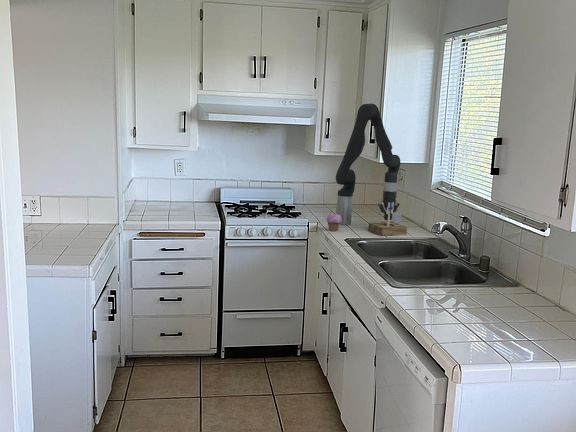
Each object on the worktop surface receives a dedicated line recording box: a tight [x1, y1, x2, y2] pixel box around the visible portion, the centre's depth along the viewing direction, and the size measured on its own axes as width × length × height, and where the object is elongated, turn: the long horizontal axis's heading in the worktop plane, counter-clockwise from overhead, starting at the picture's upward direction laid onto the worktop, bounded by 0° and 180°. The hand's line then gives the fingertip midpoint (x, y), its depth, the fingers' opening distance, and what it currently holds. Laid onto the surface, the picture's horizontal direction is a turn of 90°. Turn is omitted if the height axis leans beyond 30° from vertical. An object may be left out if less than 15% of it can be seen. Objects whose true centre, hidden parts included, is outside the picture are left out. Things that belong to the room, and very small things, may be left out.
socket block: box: [368, 221, 408, 237], centre depth 336 cm, size 15×16×5 cm
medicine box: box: [390, 211, 403, 225], centre depth 353 cm, size 8×4×9 cm, turn 74°
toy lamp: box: [385, 202, 393, 226], centre depth 335 cm, size 5×5×17 cm
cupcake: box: [325, 212, 342, 232], centre depth 336 cm, size 9×9×10 cm
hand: (387, 219), depth 335 cm, fingers closed on toy lamp
